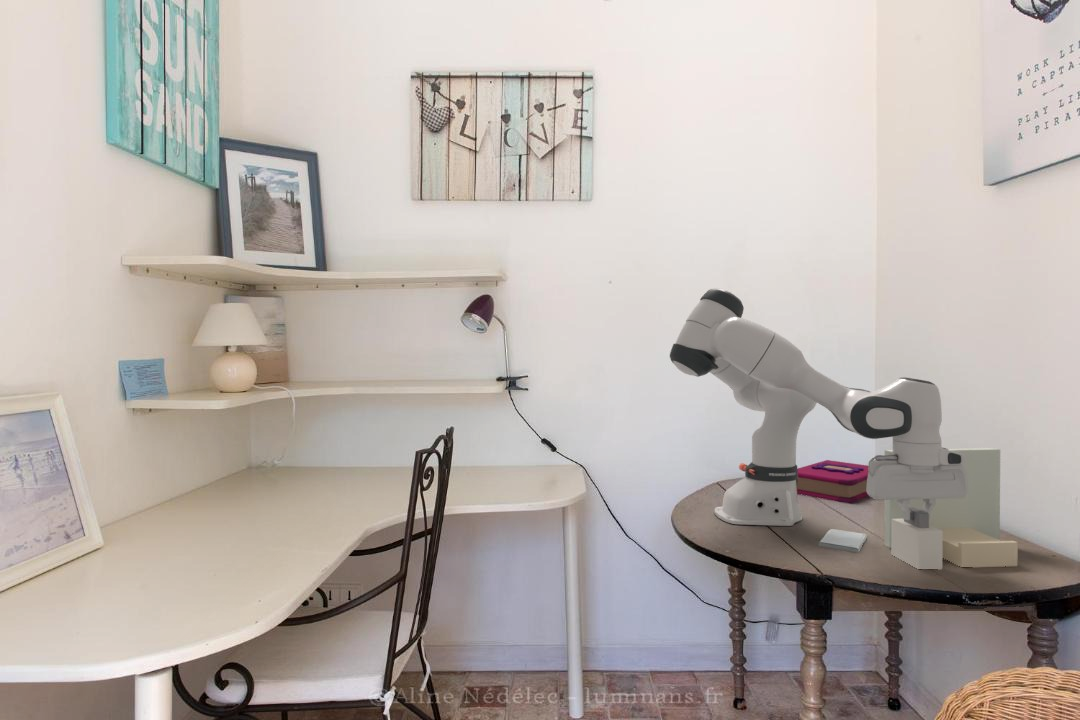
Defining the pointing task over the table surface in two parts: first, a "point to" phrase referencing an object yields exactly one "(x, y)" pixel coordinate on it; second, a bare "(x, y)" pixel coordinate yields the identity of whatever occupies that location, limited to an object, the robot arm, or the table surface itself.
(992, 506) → the board
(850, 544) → the hard drive
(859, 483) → the book
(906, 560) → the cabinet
